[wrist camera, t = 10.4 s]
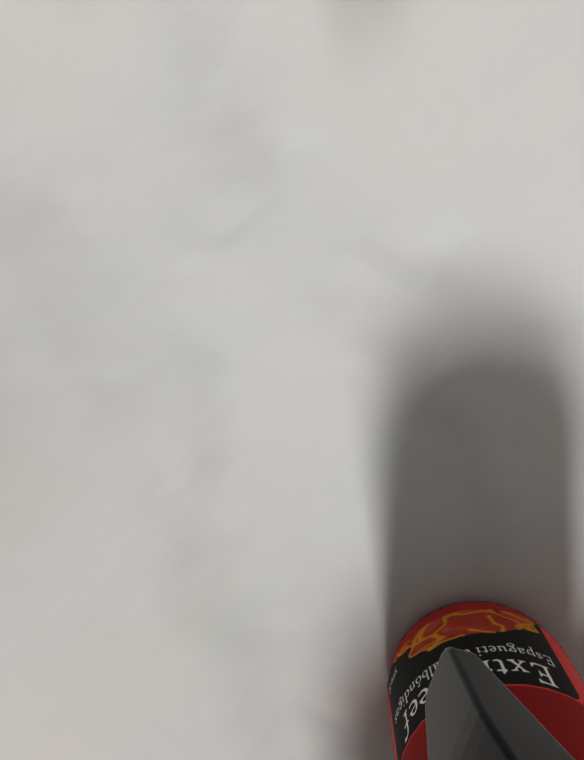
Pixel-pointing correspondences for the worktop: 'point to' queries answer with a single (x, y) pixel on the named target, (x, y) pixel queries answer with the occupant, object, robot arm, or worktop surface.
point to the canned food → (501, 655)
